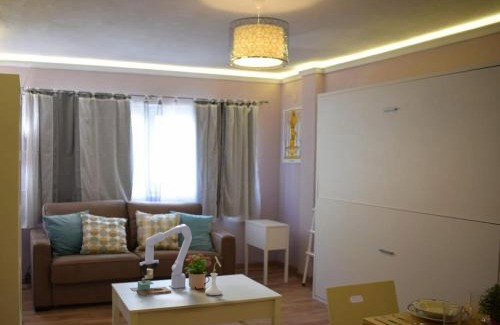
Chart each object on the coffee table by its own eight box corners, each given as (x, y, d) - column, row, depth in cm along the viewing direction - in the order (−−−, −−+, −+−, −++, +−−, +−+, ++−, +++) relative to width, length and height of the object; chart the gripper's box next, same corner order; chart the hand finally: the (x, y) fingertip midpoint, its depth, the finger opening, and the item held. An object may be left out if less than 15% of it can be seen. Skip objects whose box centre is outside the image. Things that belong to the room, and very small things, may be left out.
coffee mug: (190, 287, 361) (191, 273, 361) (201, 285, 366) (201, 271, 366) (199, 290, 352) (200, 276, 352) (210, 289, 357) (210, 274, 357)
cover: (149, 288, 348) (149, 276, 348) (153, 291, 340) (153, 279, 340) (137, 289, 344) (137, 277, 344) (141, 292, 337) (141, 280, 337)
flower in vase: (219, 297, 337) (220, 259, 337) (202, 295, 339) (203, 258, 339) (224, 292, 350) (225, 255, 350) (208, 291, 352) (209, 254, 352)
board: (165, 288, 355) (165, 286, 355) (171, 292, 345) (171, 290, 345) (136, 291, 345) (136, 289, 345) (142, 295, 335) (142, 293, 335)
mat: (143, 287, 358) (143, 286, 358) (147, 289, 351) (147, 289, 351) (129, 288, 353) (129, 288, 353) (133, 291, 346) (133, 290, 346)
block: (153, 277, 357) (153, 268, 357) (150, 278, 353) (151, 270, 353) (147, 277, 358) (147, 268, 358) (144, 278, 354) (144, 269, 354)
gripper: (144, 256, 348) (143, 277, 348) (161, 254, 358) (161, 274, 358) (138, 255, 352) (137, 275, 352) (155, 253, 363) (154, 272, 363)
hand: (149, 274), depth 356 cm, fingers closed on block, 6 cm apart
